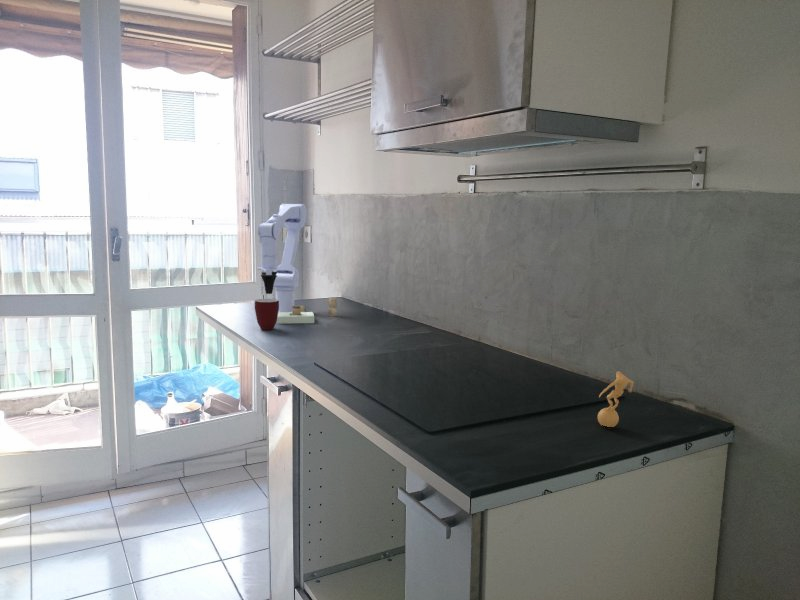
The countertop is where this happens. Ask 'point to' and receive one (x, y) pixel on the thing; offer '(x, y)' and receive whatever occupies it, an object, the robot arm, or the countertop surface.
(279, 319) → the board
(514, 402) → the countertop surface
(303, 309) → the dowel short
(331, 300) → the dowel long
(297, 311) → the dowel medium
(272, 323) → the mug
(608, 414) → the figurine
